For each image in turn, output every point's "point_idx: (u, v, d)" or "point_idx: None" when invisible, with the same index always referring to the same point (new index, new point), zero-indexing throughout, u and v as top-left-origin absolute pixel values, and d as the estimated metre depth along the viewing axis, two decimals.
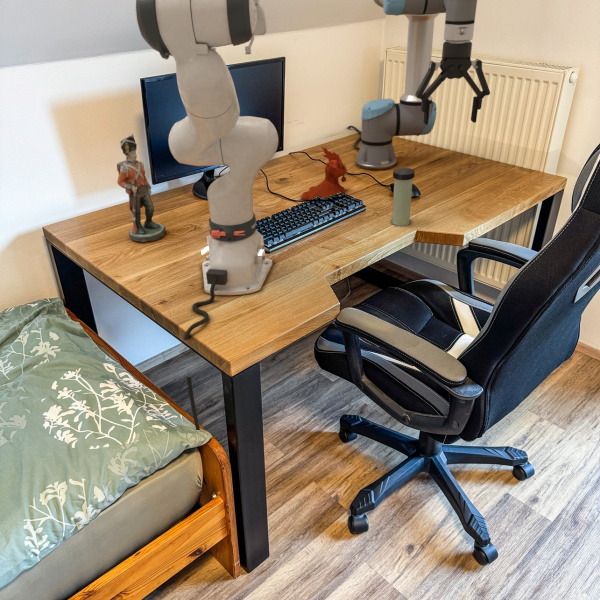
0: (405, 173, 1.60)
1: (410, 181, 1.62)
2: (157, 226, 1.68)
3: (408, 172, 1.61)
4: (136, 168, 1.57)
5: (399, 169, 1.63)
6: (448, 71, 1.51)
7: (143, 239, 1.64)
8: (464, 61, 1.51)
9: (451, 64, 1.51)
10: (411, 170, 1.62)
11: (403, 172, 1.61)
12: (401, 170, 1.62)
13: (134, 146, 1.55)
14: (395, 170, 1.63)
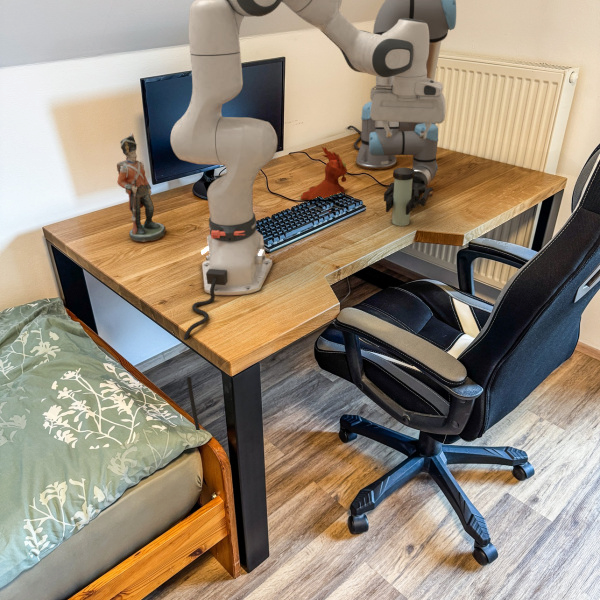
0: (405, 173, 1.60)
1: (410, 181, 1.62)
2: (157, 226, 1.68)
3: (408, 172, 1.61)
4: (136, 168, 1.57)
5: (399, 169, 1.63)
6: None
7: (143, 239, 1.64)
8: None
9: None
10: (411, 170, 1.62)
11: (403, 172, 1.61)
12: (401, 170, 1.62)
13: (134, 146, 1.55)
14: (395, 170, 1.63)
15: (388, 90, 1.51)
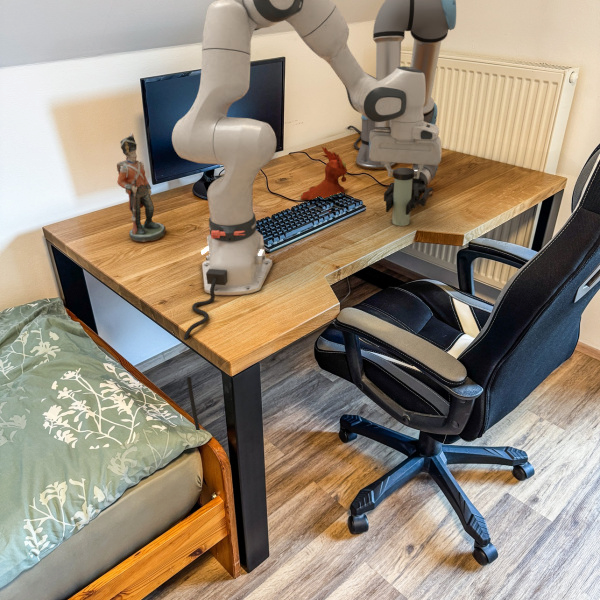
0: (405, 173, 1.60)
1: (410, 181, 1.62)
2: (157, 226, 1.68)
3: (408, 172, 1.61)
4: (136, 168, 1.57)
5: (399, 169, 1.63)
6: None
7: (143, 239, 1.64)
8: None
9: None
10: (411, 170, 1.62)
11: (403, 172, 1.61)
12: (401, 170, 1.62)
13: (134, 146, 1.55)
14: (395, 170, 1.63)
15: (386, 133, 1.58)
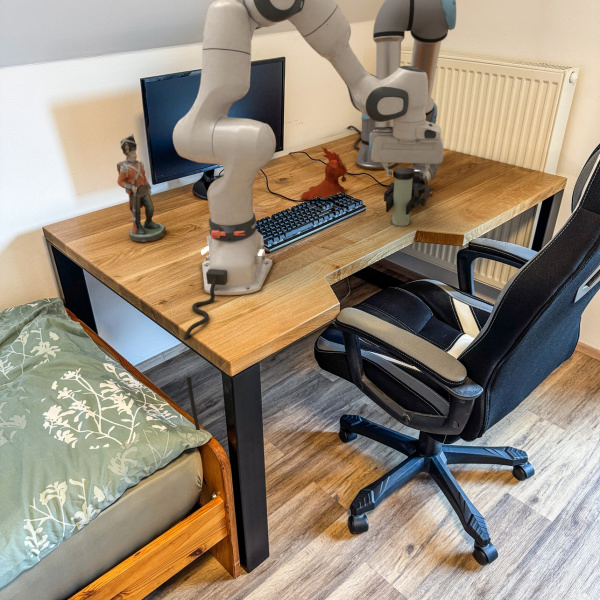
0: (411, 170, 1.61)
1: (410, 181, 1.62)
2: (157, 226, 1.68)
3: (409, 169, 1.62)
4: (136, 168, 1.57)
5: (398, 171, 1.62)
6: None
7: (143, 239, 1.64)
8: None
9: None
10: (404, 167, 1.64)
11: (408, 171, 1.61)
12: (401, 170, 1.62)
13: (134, 146, 1.55)
14: (399, 172, 1.60)
15: (388, 133, 1.56)
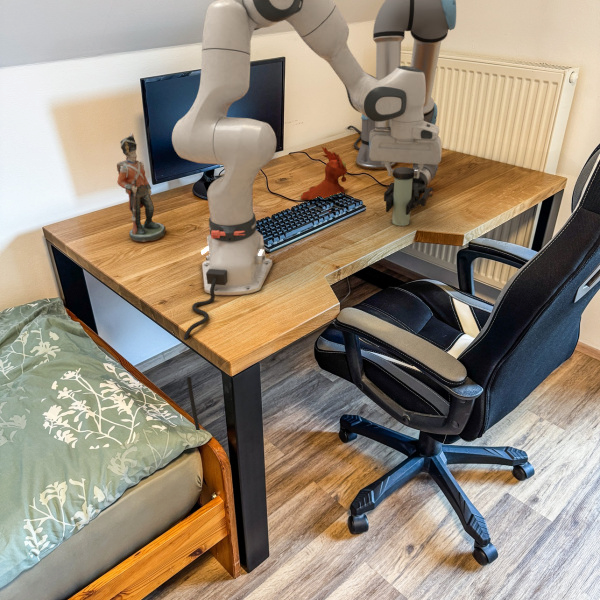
0: (411, 170, 1.61)
1: (410, 181, 1.62)
2: (157, 226, 1.68)
3: (409, 169, 1.62)
4: (136, 168, 1.57)
5: (398, 171, 1.62)
6: None
7: (143, 239, 1.64)
8: None
9: None
10: (404, 167, 1.64)
11: (407, 171, 1.61)
12: (401, 170, 1.62)
13: (134, 146, 1.55)
14: (399, 172, 1.60)
15: (386, 133, 1.58)
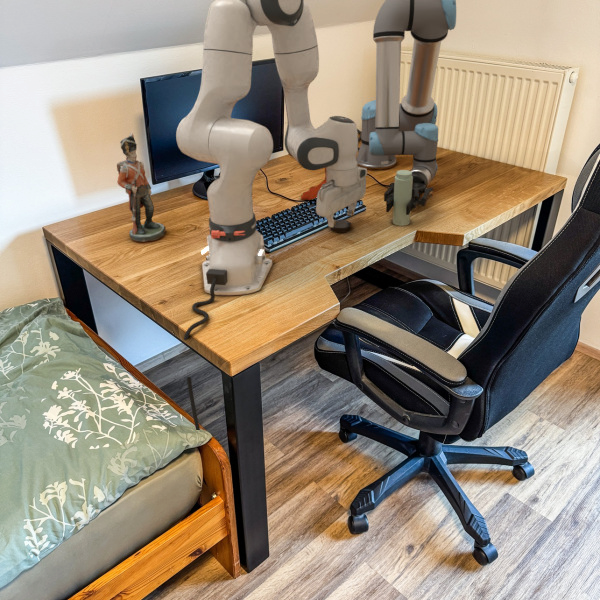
0: (344, 221, 1.69)
1: (410, 181, 1.62)
2: (157, 226, 1.68)
3: (340, 221, 1.69)
4: (136, 168, 1.57)
5: (340, 226, 1.66)
6: None
7: (143, 239, 1.64)
8: None
9: None
10: None
11: (343, 222, 1.68)
12: (341, 224, 1.67)
13: (134, 146, 1.55)
14: (345, 226, 1.66)
15: (331, 185, 1.56)
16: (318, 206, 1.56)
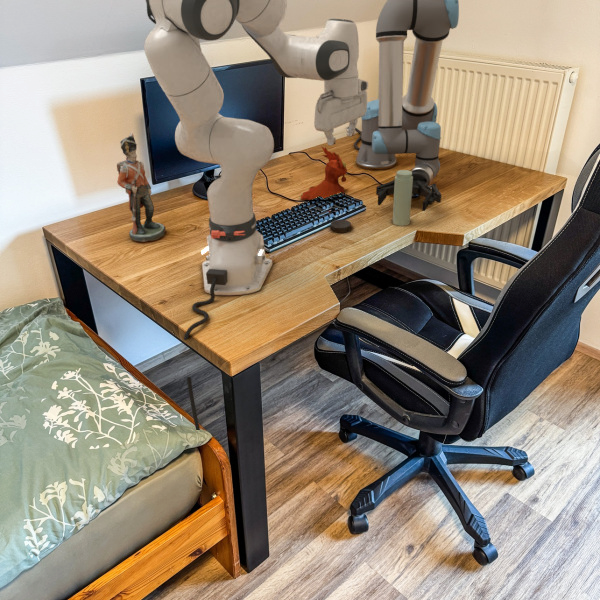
0: (344, 221, 1.69)
1: (410, 181, 1.62)
2: (157, 226, 1.68)
3: (340, 221, 1.69)
4: (136, 168, 1.57)
5: (340, 226, 1.66)
6: None
7: (143, 239, 1.64)
8: None
9: None
10: (334, 222, 1.68)
11: (343, 222, 1.68)
12: (341, 224, 1.67)
13: (134, 146, 1.55)
14: (345, 226, 1.66)
15: (330, 96, 1.44)
16: (316, 119, 1.44)
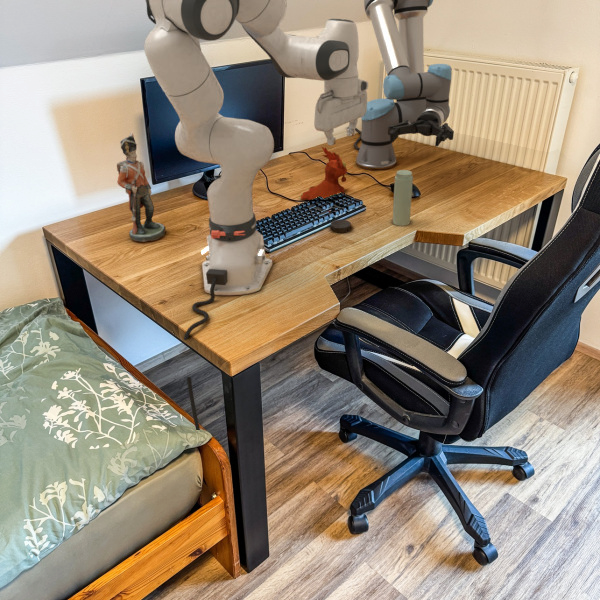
0: (344, 221, 1.69)
1: (410, 181, 1.62)
2: (157, 226, 1.68)
3: (340, 221, 1.69)
4: (136, 168, 1.57)
5: (340, 226, 1.66)
6: None
7: (143, 239, 1.64)
8: None
9: None
10: (334, 222, 1.68)
11: (343, 222, 1.68)
12: (341, 224, 1.67)
13: (134, 146, 1.55)
14: (345, 226, 1.66)
15: (330, 96, 1.44)
16: (316, 119, 1.44)
